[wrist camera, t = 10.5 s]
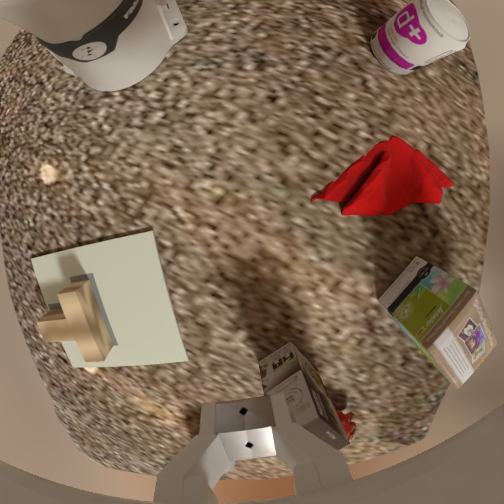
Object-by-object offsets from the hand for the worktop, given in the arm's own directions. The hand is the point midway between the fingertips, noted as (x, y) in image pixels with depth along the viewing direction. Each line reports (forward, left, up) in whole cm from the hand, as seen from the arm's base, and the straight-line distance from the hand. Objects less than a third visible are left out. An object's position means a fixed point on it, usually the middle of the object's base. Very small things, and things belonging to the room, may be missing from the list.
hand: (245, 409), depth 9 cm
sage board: (+7, -21, -28) cm, 36 cm away
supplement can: (-25, +28, -29) cm, 47 cm away
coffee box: (+22, +5, -29) cm, 36 cm away
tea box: (+16, +28, -29) cm, 43 cm away
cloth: (-5, +24, -29) cm, 38 cm away
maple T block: (+7, -26, -28) cm, 39 cm away
